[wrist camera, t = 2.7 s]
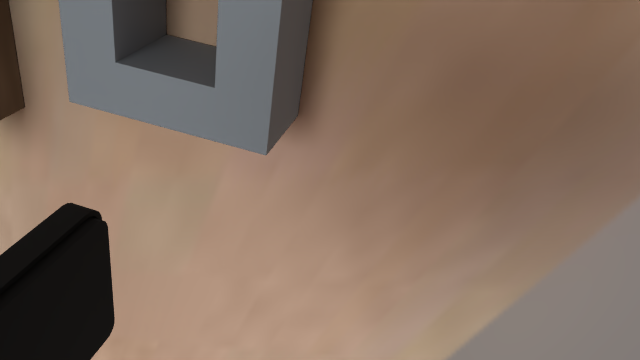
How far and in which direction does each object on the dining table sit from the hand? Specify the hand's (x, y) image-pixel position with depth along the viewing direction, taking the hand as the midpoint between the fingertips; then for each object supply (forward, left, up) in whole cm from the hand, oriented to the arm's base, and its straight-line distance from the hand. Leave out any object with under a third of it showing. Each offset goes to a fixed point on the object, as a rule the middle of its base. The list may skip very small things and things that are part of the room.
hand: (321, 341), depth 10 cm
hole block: (+11, 0, -18) cm, 21 cm away
